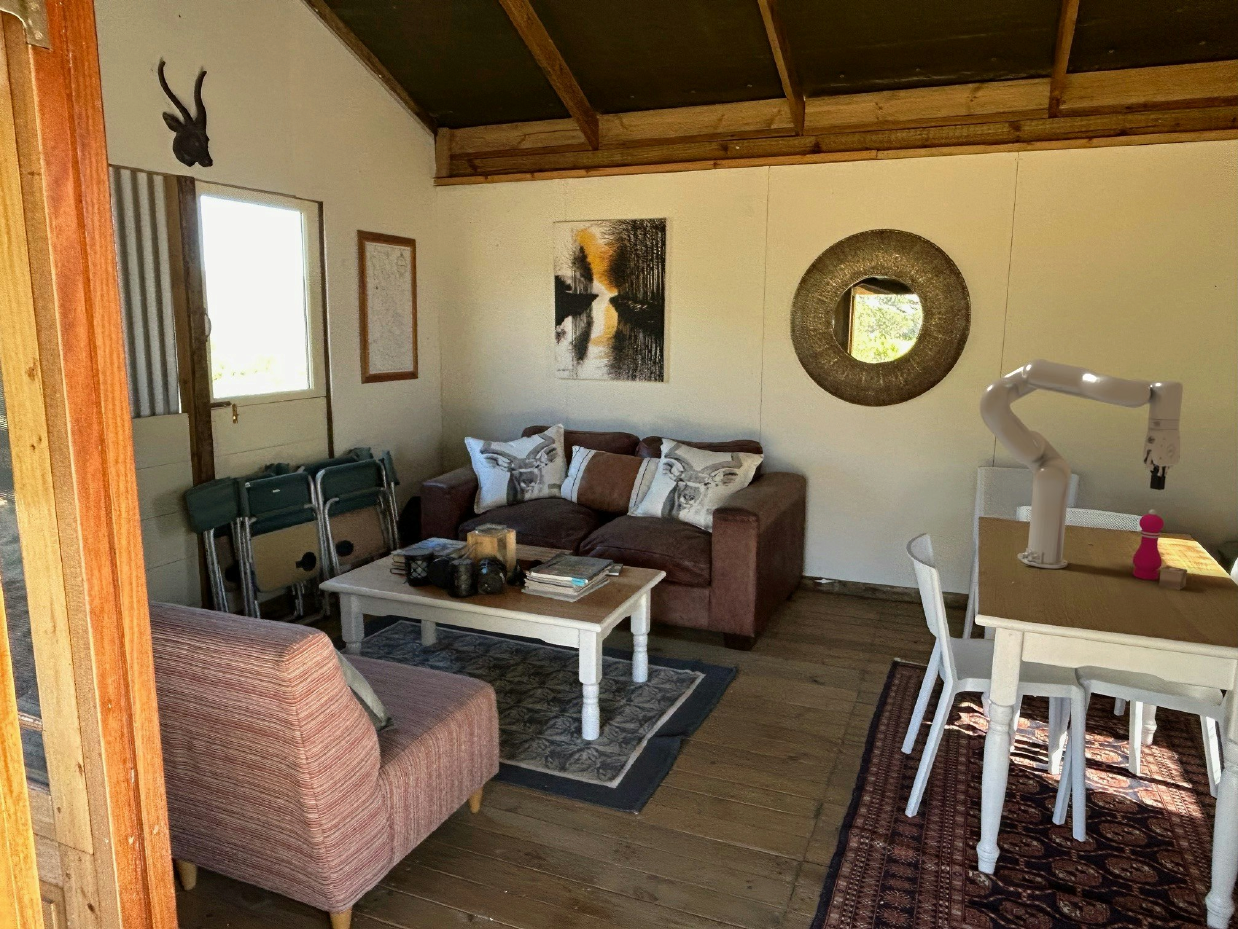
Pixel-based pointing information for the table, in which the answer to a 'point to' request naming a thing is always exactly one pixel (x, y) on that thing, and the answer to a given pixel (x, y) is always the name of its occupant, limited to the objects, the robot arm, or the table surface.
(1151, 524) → the pepper mill
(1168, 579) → the walnut block
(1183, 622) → the table surface
